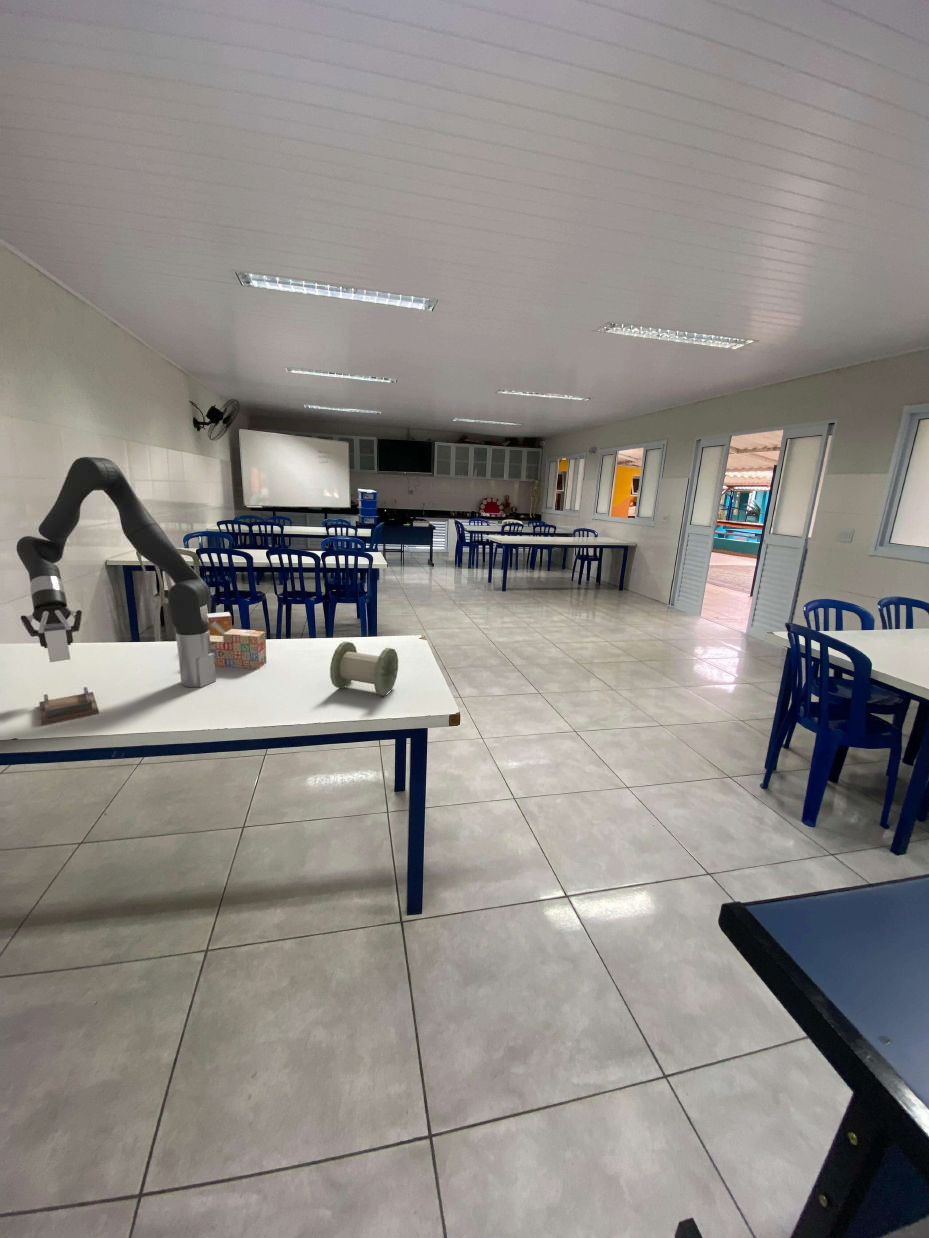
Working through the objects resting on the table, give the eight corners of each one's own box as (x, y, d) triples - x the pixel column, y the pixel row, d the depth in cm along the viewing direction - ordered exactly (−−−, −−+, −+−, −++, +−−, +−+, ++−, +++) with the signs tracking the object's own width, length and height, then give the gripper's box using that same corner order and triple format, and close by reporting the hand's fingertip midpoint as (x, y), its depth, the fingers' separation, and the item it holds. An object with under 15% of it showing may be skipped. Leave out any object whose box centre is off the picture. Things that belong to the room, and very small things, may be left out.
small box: (210, 650, 185) (207, 617, 181) (208, 645, 190) (205, 613, 186) (233, 647, 189) (231, 615, 186) (231, 642, 194) (228, 611, 191)
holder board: (98, 713, 133) (97, 702, 132) (41, 725, 125) (39, 714, 124) (93, 695, 143) (91, 685, 142) (40, 705, 135) (37, 695, 134)
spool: (397, 685, 162) (398, 642, 159) (378, 703, 148) (378, 657, 145) (353, 677, 167) (353, 636, 163) (330, 694, 153) (329, 649, 149)
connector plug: (69, 654, 141) (63, 622, 139) (70, 659, 138) (64, 626, 135) (49, 657, 138) (43, 624, 136) (49, 662, 135) (43, 628, 132)
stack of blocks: (199, 665, 170) (196, 631, 167) (209, 659, 176) (206, 626, 173) (259, 669, 169) (257, 635, 166) (267, 663, 175) (265, 630, 172)
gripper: (13, 590, 134) (21, 643, 128) (78, 585, 143) (89, 634, 138) (17, 604, 139) (25, 656, 134) (80, 599, 148) (90, 647, 143)
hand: (57, 645), depth 136 cm, fingers closed on connector plug, 4 cm apart
